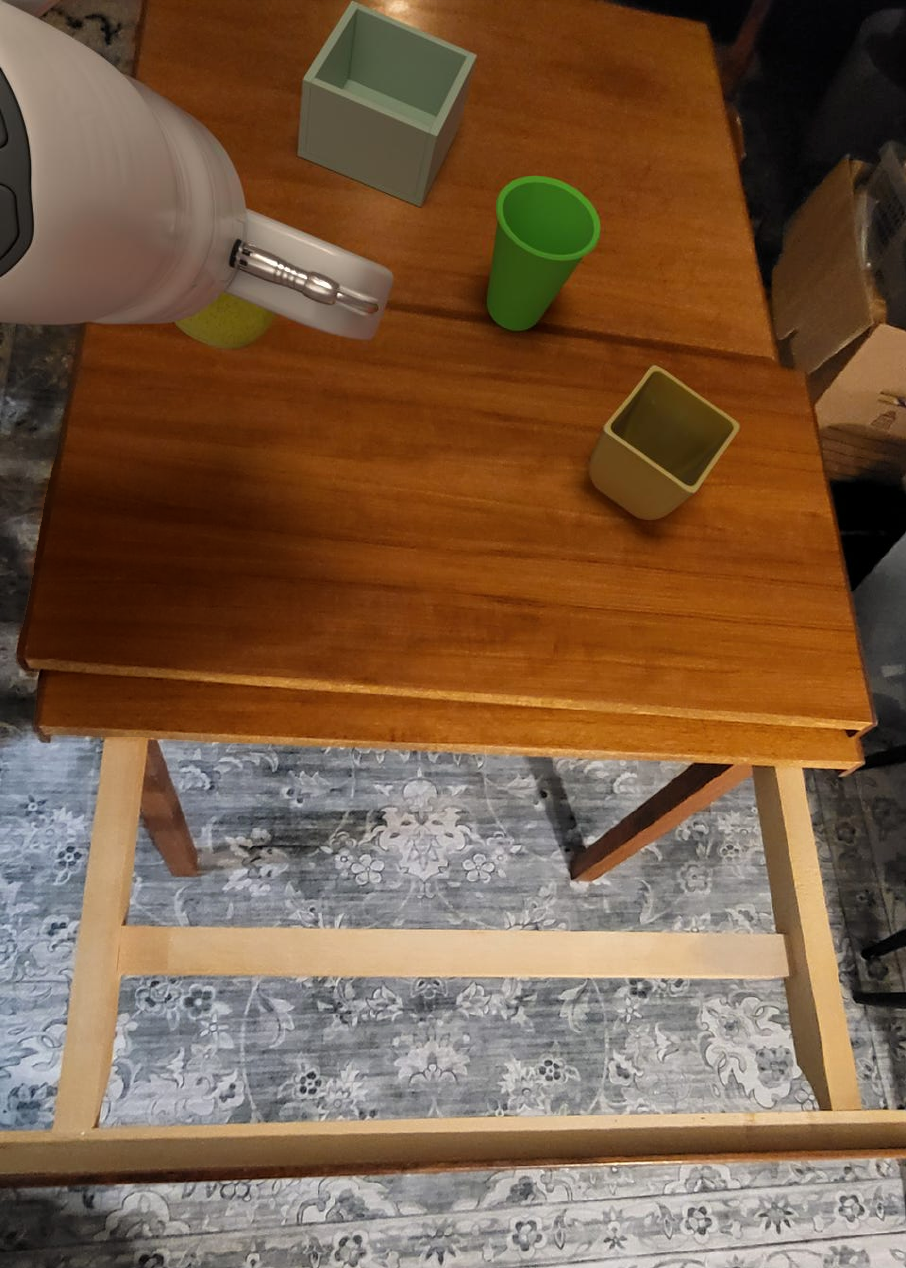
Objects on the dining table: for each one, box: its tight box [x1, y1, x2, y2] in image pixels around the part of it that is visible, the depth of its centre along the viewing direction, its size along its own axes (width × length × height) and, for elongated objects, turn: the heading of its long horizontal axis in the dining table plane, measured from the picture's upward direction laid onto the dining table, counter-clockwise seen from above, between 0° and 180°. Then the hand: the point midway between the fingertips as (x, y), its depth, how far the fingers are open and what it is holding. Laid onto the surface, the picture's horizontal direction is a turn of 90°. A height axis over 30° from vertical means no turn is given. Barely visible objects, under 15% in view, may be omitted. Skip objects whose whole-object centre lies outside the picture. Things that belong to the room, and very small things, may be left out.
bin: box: [296, 0, 478, 208], centre depth 85 cm, size 13×13×8 cm
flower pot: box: [588, 364, 741, 521], centre depth 74 cm, size 9×9×9 cm
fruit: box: [174, 292, 278, 351], centre depth 50 cm, size 7×7×12 cm
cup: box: [486, 175, 602, 332], centre depth 79 cm, size 9×9×11 cm
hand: (228, 238), depth 50 cm, fingers closed on fruit, 5 cm apart
